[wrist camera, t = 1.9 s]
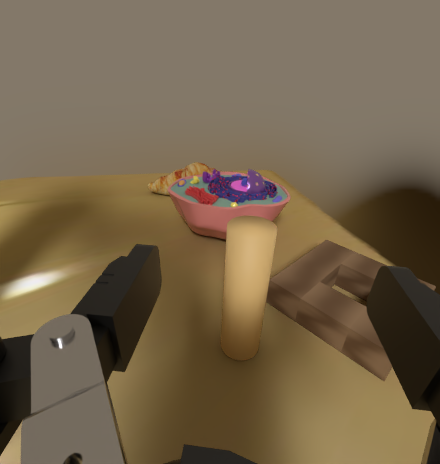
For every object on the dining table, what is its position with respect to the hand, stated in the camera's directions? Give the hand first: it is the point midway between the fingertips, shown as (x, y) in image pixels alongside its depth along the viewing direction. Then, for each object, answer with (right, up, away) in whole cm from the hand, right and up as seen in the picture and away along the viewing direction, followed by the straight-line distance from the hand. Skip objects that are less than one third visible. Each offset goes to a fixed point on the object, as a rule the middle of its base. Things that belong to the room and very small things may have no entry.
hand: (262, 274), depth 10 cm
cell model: (0, +2, +40) cm, 40 cm away
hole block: (+14, -8, +24) cm, 29 cm away
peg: (0, -10, +19) cm, 21 cm away
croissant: (-8, +12, +57) cm, 59 cm away
